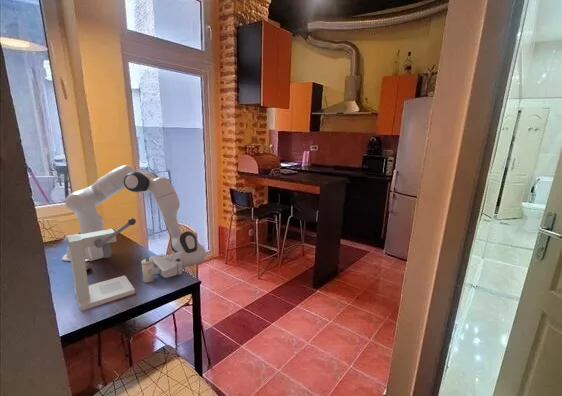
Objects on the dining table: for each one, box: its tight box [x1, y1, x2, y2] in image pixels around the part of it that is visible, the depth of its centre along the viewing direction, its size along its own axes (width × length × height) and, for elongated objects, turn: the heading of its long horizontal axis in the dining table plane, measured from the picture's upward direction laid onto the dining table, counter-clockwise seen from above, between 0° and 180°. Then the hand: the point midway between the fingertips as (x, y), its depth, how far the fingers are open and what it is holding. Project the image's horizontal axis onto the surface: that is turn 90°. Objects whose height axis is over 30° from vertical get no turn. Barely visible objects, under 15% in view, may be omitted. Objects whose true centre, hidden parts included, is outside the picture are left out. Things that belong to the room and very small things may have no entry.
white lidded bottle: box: [141, 256, 156, 283], centre depth 136 cm, size 5×5×12 cm
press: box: [66, 217, 137, 312], centre depth 123 cm, size 24×16×34 cm
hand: (146, 269), depth 136 cm, fingers closed on white lidded bottle, 5 cm apart
